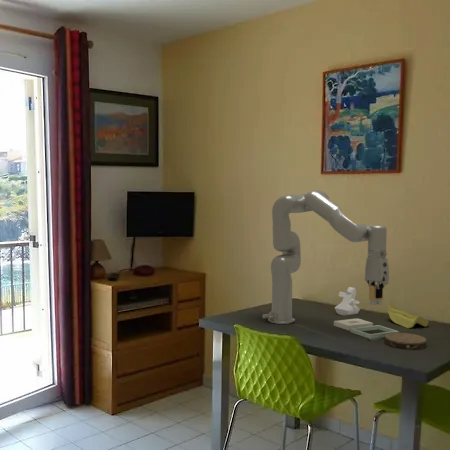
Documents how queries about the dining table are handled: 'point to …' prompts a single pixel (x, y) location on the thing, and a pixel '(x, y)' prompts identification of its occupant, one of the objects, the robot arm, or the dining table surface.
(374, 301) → the tan rectangular block
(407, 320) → the plastic component
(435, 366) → the dining table surface
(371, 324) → the block
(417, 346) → the wood slice coaster
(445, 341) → the dining table surface
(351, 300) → the white faceted figurine
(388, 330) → the tray
